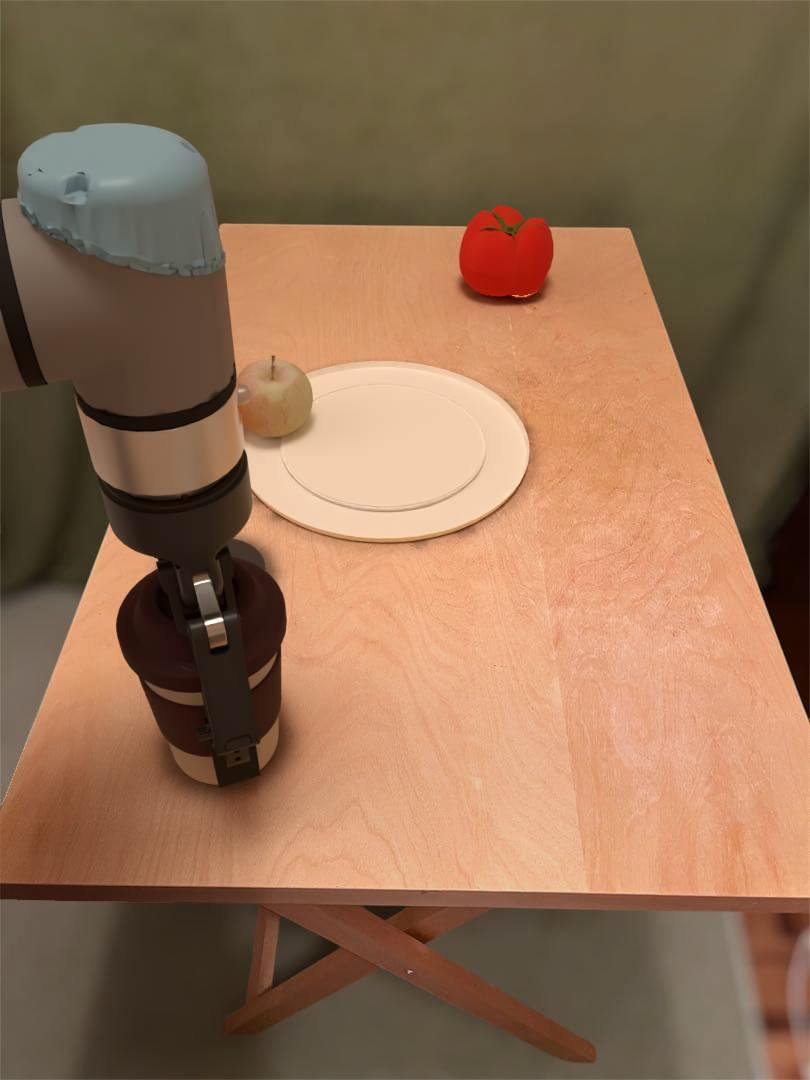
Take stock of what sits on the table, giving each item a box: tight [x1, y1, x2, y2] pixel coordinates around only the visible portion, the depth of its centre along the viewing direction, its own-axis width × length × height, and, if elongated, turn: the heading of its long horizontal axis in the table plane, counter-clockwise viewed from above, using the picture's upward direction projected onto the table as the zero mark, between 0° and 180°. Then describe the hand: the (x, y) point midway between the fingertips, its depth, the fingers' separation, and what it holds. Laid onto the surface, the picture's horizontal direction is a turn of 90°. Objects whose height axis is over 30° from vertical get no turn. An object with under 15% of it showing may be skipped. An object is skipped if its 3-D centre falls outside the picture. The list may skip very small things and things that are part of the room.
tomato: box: [458, 204, 555, 299], centre depth 109 cm, size 11×12×9 cm
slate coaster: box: [226, 538, 267, 572], centre depth 75 cm, size 8×8×1 cm
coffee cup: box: [115, 557, 288, 786], centre depth 58 cm, size 10×10×15 cm
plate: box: [242, 360, 530, 543], centre depth 88 cm, size 28×28×1 cm
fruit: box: [237, 354, 313, 437], centre depth 87 cm, size 8×7×8 cm
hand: (222, 722), depth 62 cm, fingers closed on coffee cup, 8 cm apart
